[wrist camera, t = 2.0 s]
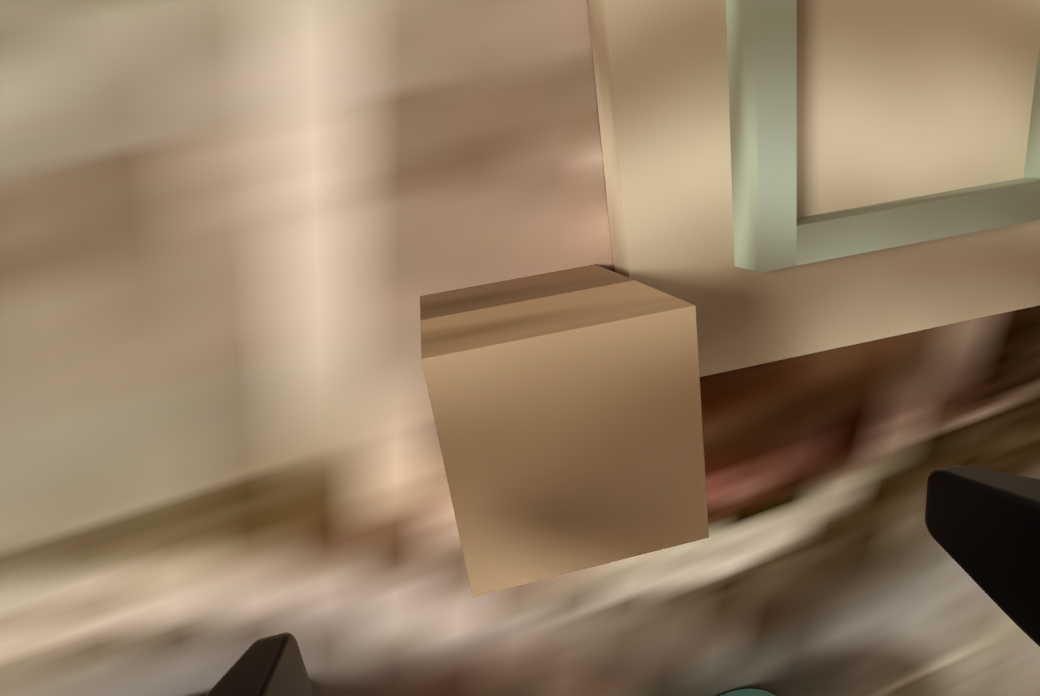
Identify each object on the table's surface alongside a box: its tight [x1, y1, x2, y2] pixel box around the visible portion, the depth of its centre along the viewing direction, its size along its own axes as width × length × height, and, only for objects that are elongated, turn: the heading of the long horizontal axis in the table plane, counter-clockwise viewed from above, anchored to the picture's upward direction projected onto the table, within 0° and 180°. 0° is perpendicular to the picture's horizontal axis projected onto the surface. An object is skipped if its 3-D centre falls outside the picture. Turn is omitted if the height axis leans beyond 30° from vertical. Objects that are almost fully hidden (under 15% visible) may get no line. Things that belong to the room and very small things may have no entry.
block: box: [420, 264, 709, 597], centre depth 13 cm, size 5×5×6 cm
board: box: [588, 0, 1040, 377], centre depth 14 cm, size 16×16×2 cm
